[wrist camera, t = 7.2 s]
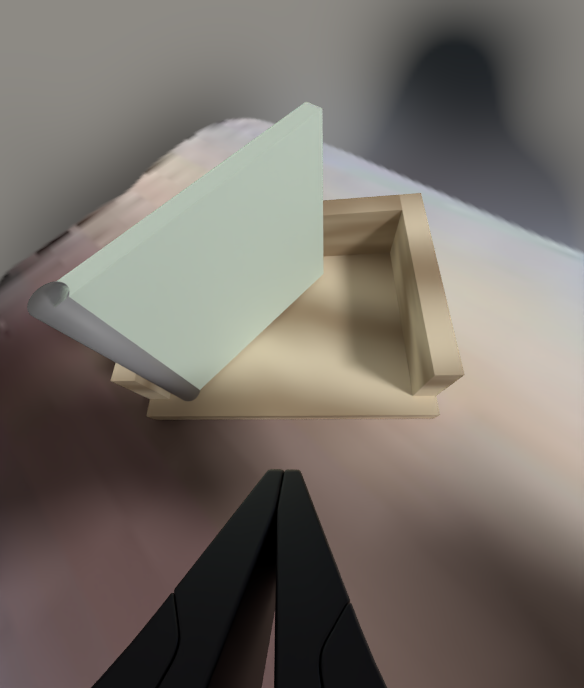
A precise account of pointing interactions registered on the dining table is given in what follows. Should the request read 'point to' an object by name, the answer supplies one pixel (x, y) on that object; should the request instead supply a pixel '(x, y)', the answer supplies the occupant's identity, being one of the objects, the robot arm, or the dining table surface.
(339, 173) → the dining table surface
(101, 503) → the dining table surface
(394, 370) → the wooden tray
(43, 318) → the door
